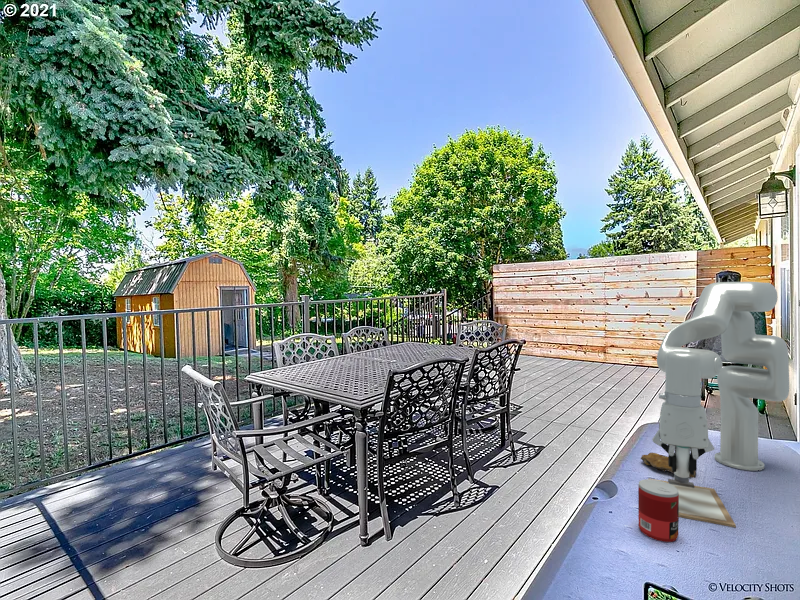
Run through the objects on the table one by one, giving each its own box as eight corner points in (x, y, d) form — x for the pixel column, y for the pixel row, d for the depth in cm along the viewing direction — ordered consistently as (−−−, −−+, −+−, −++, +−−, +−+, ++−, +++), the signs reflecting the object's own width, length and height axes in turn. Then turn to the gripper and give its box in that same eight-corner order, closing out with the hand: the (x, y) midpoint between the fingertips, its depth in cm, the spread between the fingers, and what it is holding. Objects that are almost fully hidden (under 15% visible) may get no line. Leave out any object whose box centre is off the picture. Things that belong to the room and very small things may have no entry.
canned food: (679, 547, 91) (679, 497, 91) (637, 535, 96) (637, 488, 95) (677, 529, 98) (678, 483, 98) (638, 520, 102) (638, 476, 102)
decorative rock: (637, 471, 131) (695, 486, 122) (637, 458, 131) (696, 472, 122) (642, 457, 140) (696, 470, 131) (642, 446, 140) (697, 457, 131)
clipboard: (648, 480, 123) (648, 475, 123) (714, 490, 117) (714, 485, 116) (657, 512, 105) (657, 507, 105) (735, 527, 98) (735, 521, 98)
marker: (673, 475, 109) (675, 431, 108) (689, 478, 107) (691, 434, 106) (673, 481, 107) (674, 437, 105) (689, 485, 105) (690, 440, 103)
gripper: (647, 399, 106) (646, 471, 106) (726, 407, 99) (726, 483, 99) (644, 393, 113) (643, 460, 113) (718, 400, 106) (717, 471, 106)
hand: (682, 470), depth 106 cm, fingers closed on marker, 3 cm apart
